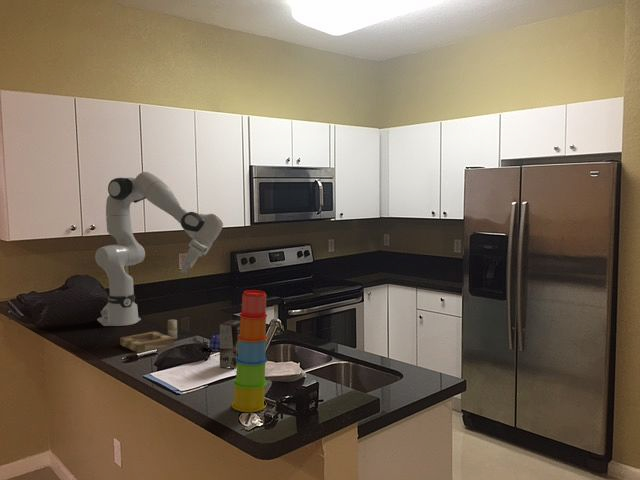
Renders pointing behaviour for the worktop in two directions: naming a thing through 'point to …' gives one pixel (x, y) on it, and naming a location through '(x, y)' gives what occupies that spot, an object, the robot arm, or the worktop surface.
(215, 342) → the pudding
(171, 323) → the peg
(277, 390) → the worktop surface
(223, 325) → the coffee box
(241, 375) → the stacking cups
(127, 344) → the collar
